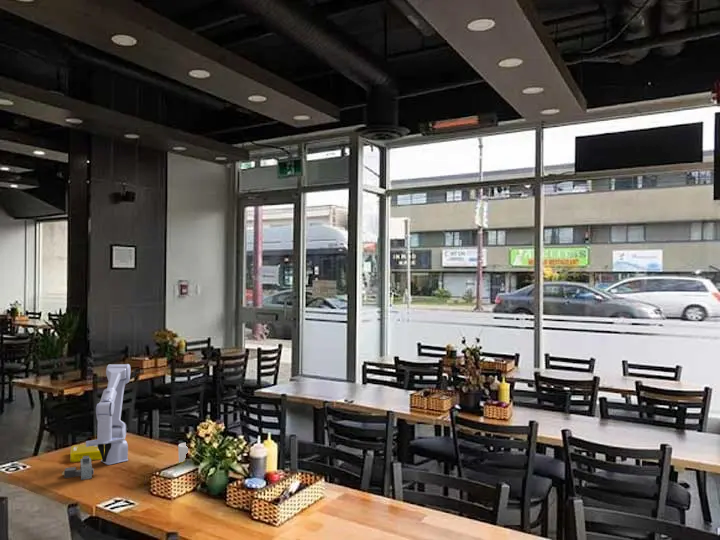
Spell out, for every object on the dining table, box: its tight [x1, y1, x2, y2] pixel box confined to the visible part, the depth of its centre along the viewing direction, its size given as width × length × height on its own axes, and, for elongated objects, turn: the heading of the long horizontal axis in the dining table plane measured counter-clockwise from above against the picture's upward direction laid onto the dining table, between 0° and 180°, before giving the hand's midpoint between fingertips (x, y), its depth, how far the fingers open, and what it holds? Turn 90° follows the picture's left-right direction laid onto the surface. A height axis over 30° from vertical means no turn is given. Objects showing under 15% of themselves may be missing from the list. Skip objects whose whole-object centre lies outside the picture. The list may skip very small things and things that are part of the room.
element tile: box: [69, 443, 105, 463], centre depth 275 cm, size 15×15×5 cm
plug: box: [61, 466, 95, 479], centre depth 249 cm, size 12×4×3 cm, turn 110°
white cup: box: [177, 442, 188, 464], centre depth 262 cm, size 8×8×10 cm
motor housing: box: [79, 456, 93, 481], centre depth 249 cm, size 4×12×6 cm, turn 27°
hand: (104, 461), depth 253 cm, fingers closed
